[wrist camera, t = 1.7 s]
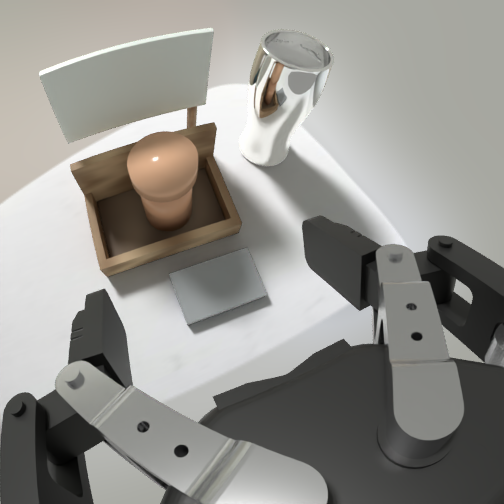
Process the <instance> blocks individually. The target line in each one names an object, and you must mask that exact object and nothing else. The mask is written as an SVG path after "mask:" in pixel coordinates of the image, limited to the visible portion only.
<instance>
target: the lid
mask: <svg viewBox="0 0 504 504" xmlns="http://www.w3.org/2000/svg"><path fill="white" fill-rule="evenodd" d="M213 34H214V31H213V29H212V28H206V29H198V30H192V31H185V32H178V33H173V34H167V35H161V36H157V37H152V38H147V39H142V40H138V41H134V42H129V43H125V44H122V45H118V46H114V47H110V48H107V49H103V50H100V51H96V52H93V53H90V54H87V55H83V56H80V57H78V58H74V59H72V60H69V61H66V62H63V63H61V64H58V65H55V66H53V67H50V68H47V69H45V70H43V71H40V75H39V76H40V79H41V81H42V84H43V86H44V89H45V91H46V94H47V97H48V98H49V101H50V104H51V106H52V108H53V111H54V113H55V116H56V118H57V120H58V123H59V125H60V127H61V129H62V131H63V133H64V135H65V138H66V140H67V142H68V144H69V143H71V142H74V141H77V140H80V139H82V138H85V137H88V136H91V135H94V134H97V133H100V132H103V131H106V130H109V129H112V128H116V127H119V126H122V125H125V124H129V123H132V122H136V121H139V120H143V119H146V118H150V117H154V116H157V115H161V114H165V113H169V112H173V111H178V110H182V109H186V108H191V107H195V106H200V105H205V104H206V95H207V86H208V75H209V67H210V58H211V50H212V41H213Z"/></svg>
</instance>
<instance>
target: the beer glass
mask: <svg viewBox="0 0 504 504" xmlns="http://www.w3.org/2000/svg"><path fill="white" fill-rule="evenodd" d="M333 63H334V56H333V54H332V52H331V51H330V49H329V48H328V47H327V46H326V45H325V44H323V43H322V42H321V41H319V40H318V39H316V38H314V37H312V36H310V35H308V34H305V33H302V32H299V31H294V30H284V29H280V30H273V31H270V32H268V33H266V34H265V35H264V36H263V37H262V39H261V43H260V46H259V48H258V51H257V53H256V56H255V59H254V62H253V65H252V69H251V72H250V78H249V83H248V118H247V123H246V126H245V128H244V130H243V132H242V134H241V135H240V138H239V149H240V151H241V153H242V155H243V156H244V157H245V158H246V159H247V160H249V161H250V162H252V163H254V164H257V165H260V166H275V165H277V164H280V163H281V162H282V161H284V159H285V158H286V157H287V155H288V151H289V146H290V140H291V137H292V135H293V134H294V132H295V131H296V130H297V129H298V127H299V126H300V125H301V124H302V123H303V121H304V120H305V119H306V118H307V116H308V115H309V114H310V112H311V111H312V109H313V108H314V107H315V105H316V103H317V101H318V99H319V98H320V96H321V93H322V91H323V89H324V87H325V84H326V81H327V78H328V76H329V73H330V70H331V67H332V65H333Z"/></svg>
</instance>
